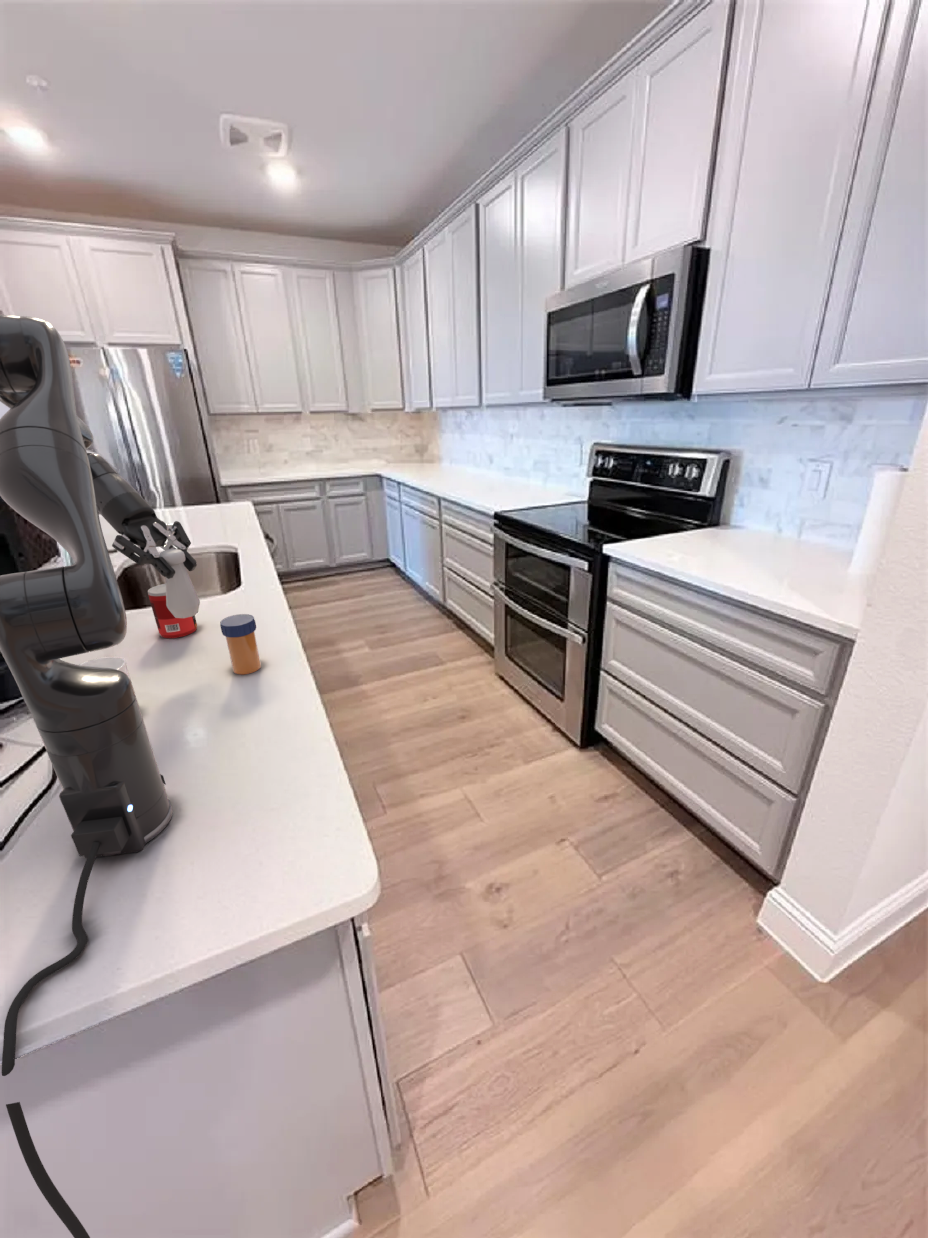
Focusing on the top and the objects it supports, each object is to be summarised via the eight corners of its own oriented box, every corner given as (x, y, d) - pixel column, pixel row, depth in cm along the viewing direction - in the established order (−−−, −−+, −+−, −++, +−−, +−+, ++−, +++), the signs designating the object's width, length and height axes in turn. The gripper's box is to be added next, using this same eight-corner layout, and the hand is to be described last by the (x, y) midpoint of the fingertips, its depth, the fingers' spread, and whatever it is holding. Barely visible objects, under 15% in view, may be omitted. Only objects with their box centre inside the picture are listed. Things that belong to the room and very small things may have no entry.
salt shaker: (188, 621, 97) (172, 555, 92) (162, 619, 98) (145, 554, 93) (208, 609, 103) (194, 547, 97) (183, 608, 104) (168, 546, 98)
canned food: (204, 629, 120) (194, 585, 115) (171, 641, 113) (159, 595, 109) (186, 622, 123) (175, 579, 119) (153, 634, 117) (140, 589, 113)
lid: (252, 636, 96) (250, 624, 95) (218, 638, 95) (215, 627, 94) (259, 623, 101) (257, 612, 100) (227, 626, 100) (224, 615, 99)
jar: (258, 673, 99) (248, 626, 95) (230, 675, 98) (219, 628, 95) (263, 661, 104) (254, 616, 100) (236, 663, 103) (227, 618, 99)
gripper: (88, 496, 87) (157, 570, 88) (160, 485, 100) (220, 550, 100) (77, 525, 91) (143, 595, 92) (147, 510, 104) (205, 572, 104)
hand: (183, 571), depth 96 cm, fingers closed on salt shaker, 4 cm apart
